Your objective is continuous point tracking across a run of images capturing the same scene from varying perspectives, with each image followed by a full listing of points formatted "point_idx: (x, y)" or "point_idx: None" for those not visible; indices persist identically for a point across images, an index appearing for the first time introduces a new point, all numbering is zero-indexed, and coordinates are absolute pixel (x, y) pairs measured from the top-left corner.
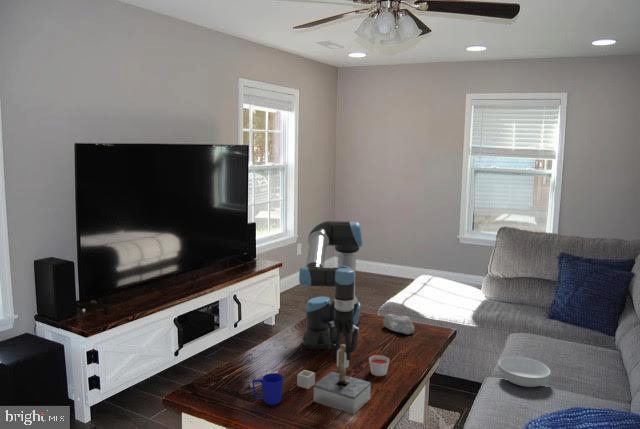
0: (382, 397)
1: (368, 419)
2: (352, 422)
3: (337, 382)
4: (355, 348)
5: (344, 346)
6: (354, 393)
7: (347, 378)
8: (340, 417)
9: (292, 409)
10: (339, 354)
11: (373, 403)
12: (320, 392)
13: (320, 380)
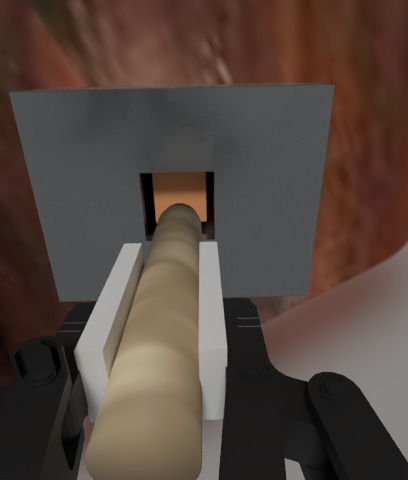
0: (359, 20)
1: (353, 250)
2: (303, 297)
3: (142, 205)
4: (366, 419)
5: (183, 477)
6: (292, 265)
7: (167, 126)
8: None
9: None
10: None
11: (332, 116)
12: None
13: (50, 245)
